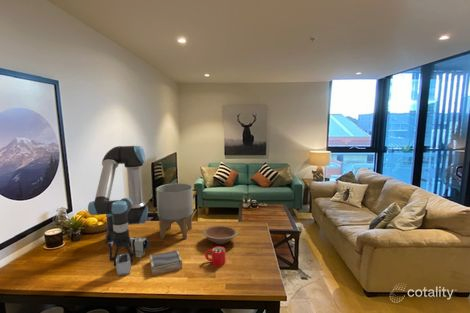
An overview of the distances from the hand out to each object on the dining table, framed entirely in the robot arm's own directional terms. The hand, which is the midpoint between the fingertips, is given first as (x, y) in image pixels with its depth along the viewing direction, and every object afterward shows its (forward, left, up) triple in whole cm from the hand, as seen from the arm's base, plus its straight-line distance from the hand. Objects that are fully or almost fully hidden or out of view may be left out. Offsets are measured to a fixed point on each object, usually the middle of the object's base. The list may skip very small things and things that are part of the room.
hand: (123, 269), depth 144 cm
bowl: (-11, +60, -1) cm, 61 cm away
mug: (+12, +49, -1) cm, 50 cm away
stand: (+4, +22, 0) cm, 22 cm away
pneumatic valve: (-12, +9, -1) cm, 16 cm away
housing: (0, 0, 0) cm, 0 cm away
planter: (-35, +35, -1) cm, 50 cm away
